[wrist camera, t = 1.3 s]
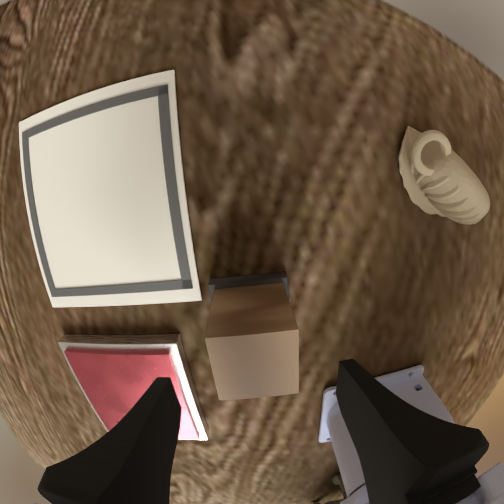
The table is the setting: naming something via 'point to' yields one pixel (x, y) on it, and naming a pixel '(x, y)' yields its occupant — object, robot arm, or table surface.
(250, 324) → the stamp
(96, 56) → the table surface
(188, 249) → the paper card
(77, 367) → the ink pad
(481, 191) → the decorative ornament
